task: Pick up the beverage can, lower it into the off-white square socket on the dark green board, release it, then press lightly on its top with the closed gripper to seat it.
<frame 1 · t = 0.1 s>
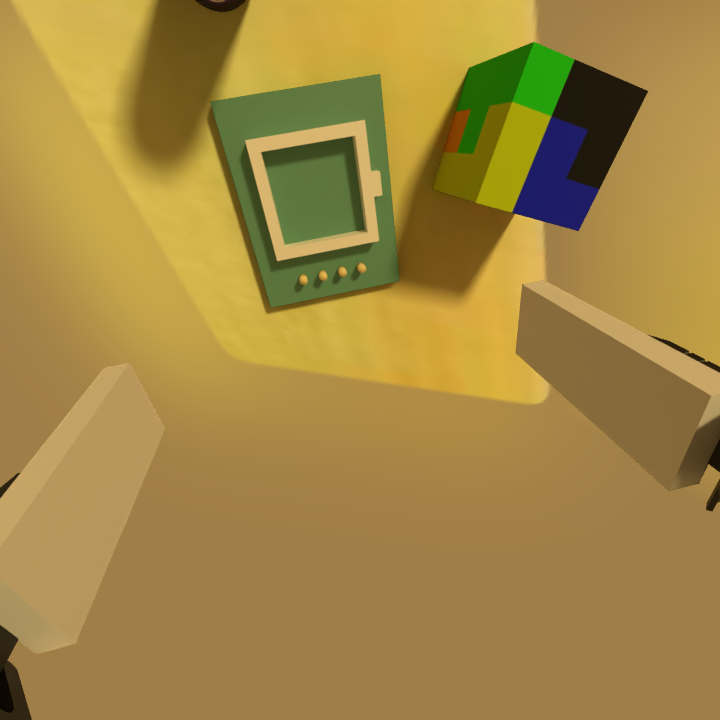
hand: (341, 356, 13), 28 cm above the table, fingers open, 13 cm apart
header board: (318, 202, 36), on the table
puzzle toy: (493, 147, 37), on the table
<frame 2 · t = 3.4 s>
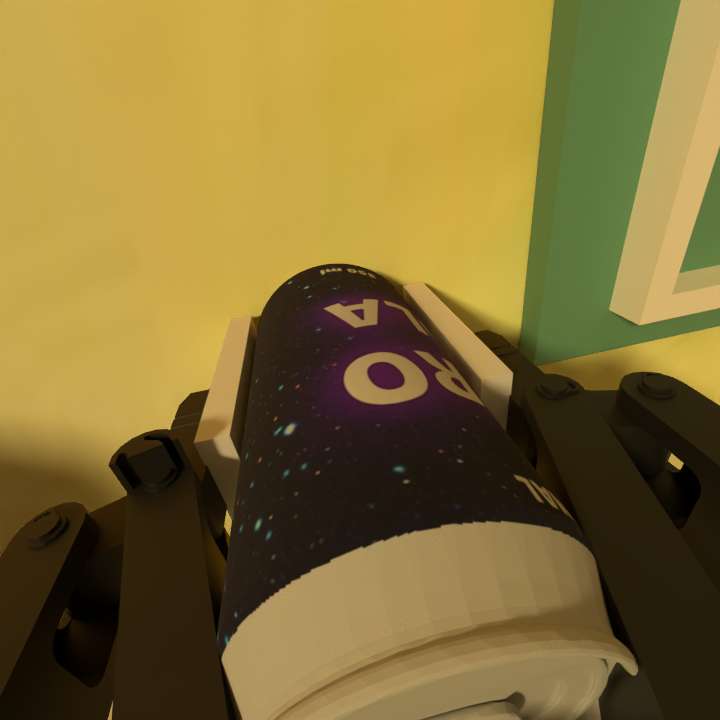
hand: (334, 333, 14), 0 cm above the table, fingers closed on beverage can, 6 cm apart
beverage can: (333, 326, 15), on the table, touching gripper
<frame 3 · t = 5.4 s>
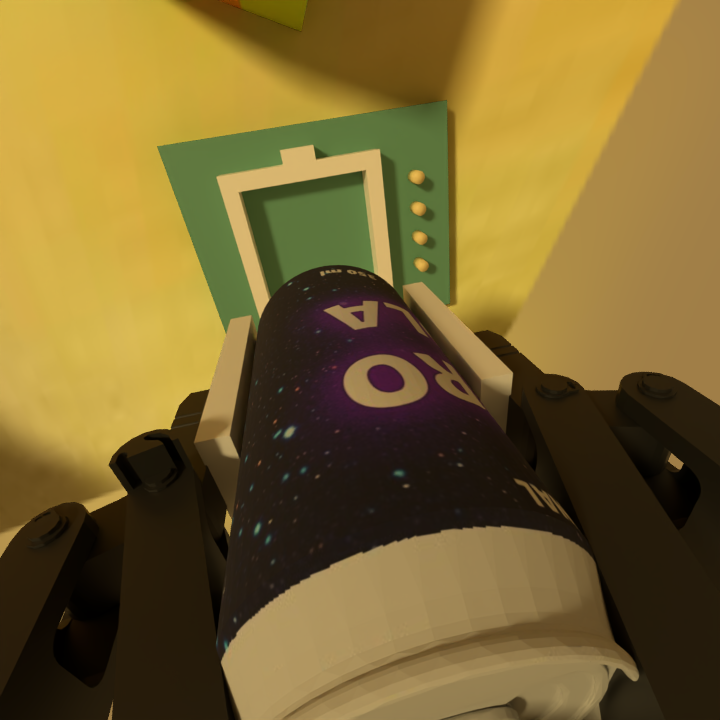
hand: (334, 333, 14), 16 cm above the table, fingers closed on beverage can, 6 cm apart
beverage can: (332, 328, 15), point 15 cm above the table, touching gripper
header board: (326, 234, 27), on the table
when the fingers open (4 cm above the table, at t = 7.9 s): beverage can drops 2 cm, resting on header board.
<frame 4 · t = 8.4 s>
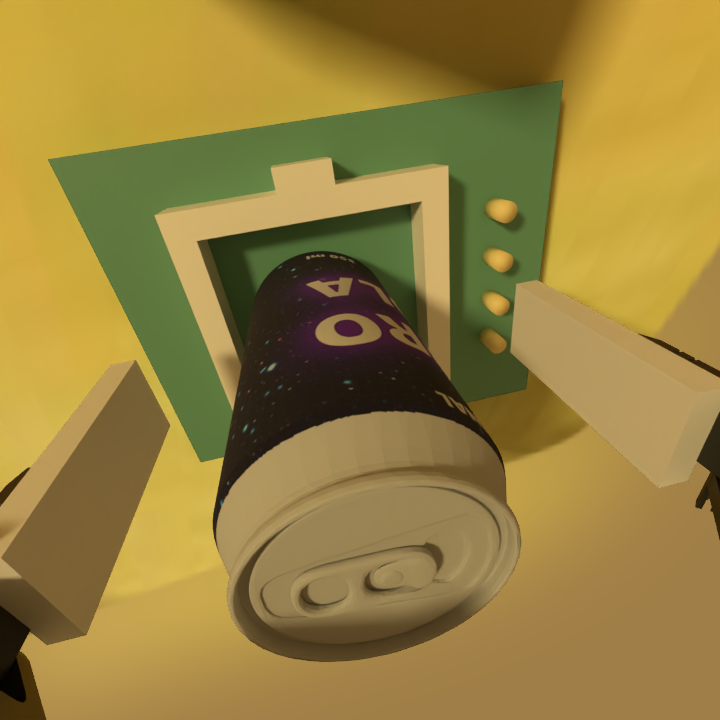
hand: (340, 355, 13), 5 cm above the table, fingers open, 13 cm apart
beverage can: (320, 309, 17), point 1 cm above the table, touching header board
header board: (346, 295, 18), on the table
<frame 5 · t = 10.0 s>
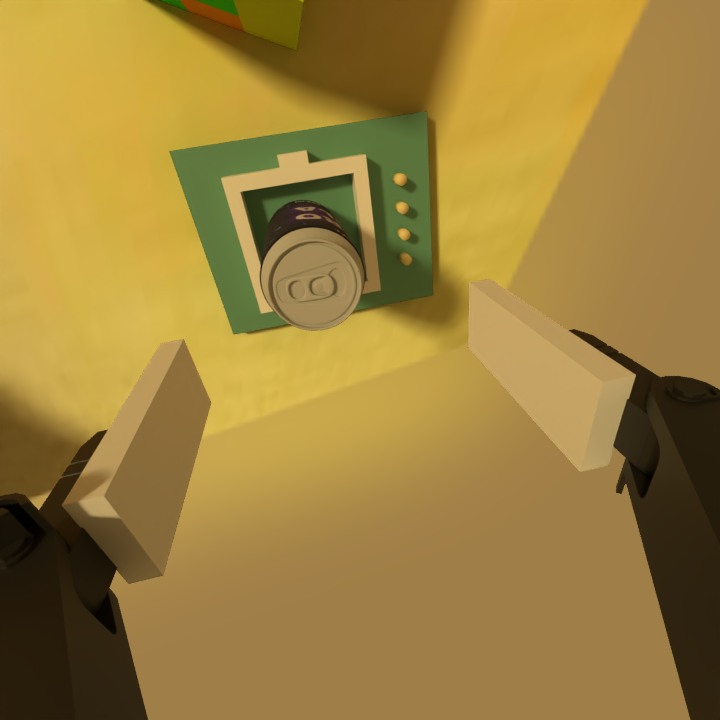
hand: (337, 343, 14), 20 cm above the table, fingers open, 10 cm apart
beverage can: (304, 236, 29), point 1 cm above the table, touching header board
header board: (319, 230, 30), on the table
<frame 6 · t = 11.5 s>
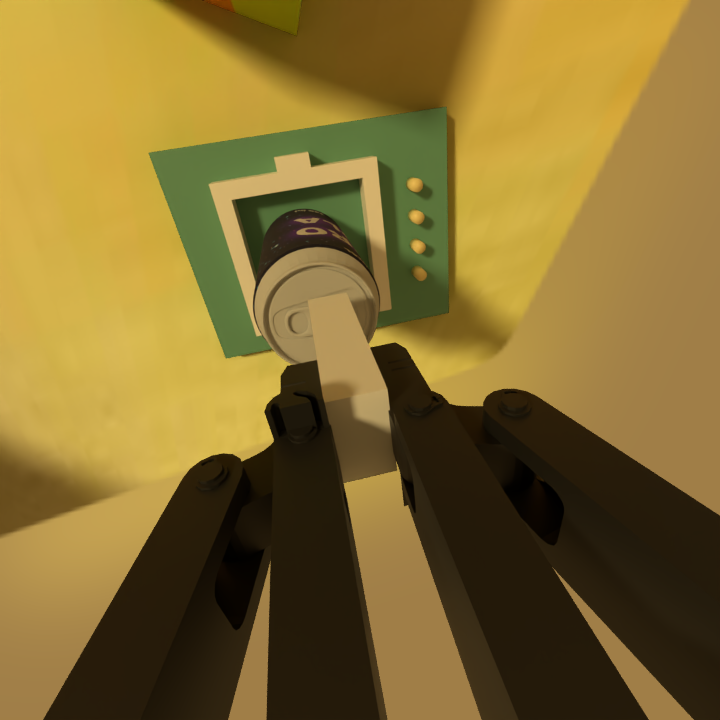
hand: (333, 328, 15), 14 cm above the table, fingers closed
beverage can: (305, 249, 26), point 1 cm above the table, touching header board
header board: (322, 242, 27), on the table
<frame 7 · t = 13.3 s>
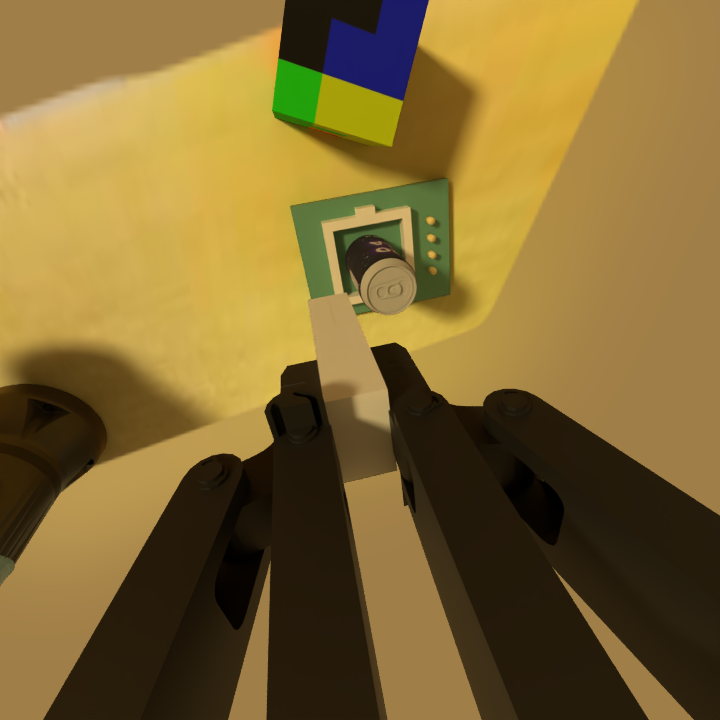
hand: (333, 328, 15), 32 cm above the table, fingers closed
beverage can: (366, 257, 45), point 1 cm above the table, touching header board
header board: (375, 252, 46), on the table
puzzle toy: (333, 74, 37), on the table
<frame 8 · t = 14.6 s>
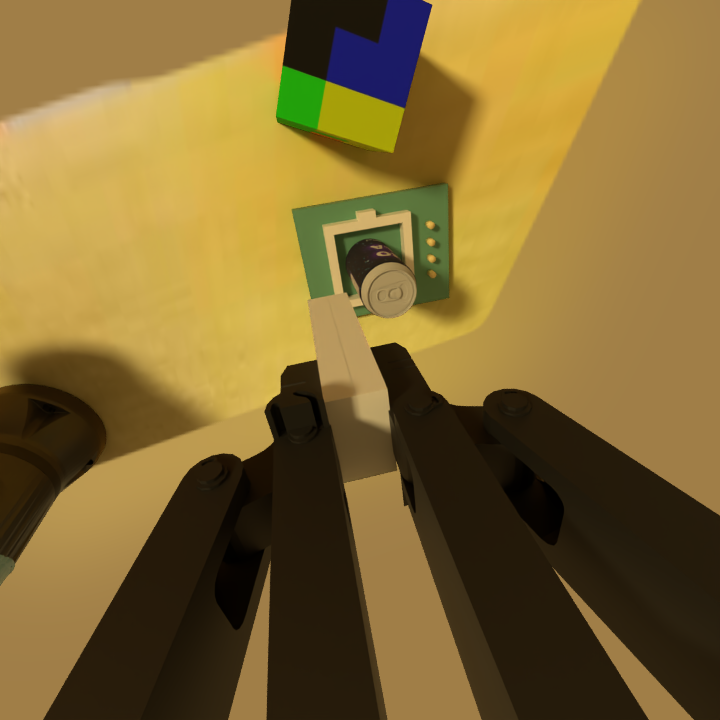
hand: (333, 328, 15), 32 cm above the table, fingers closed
beverage can: (367, 260, 46), point 1 cm above the table, touching header board
header board: (375, 255, 47), on the table
puzzle toy: (335, 80, 37), on the table
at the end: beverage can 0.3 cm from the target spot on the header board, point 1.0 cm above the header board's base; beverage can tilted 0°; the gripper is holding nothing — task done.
